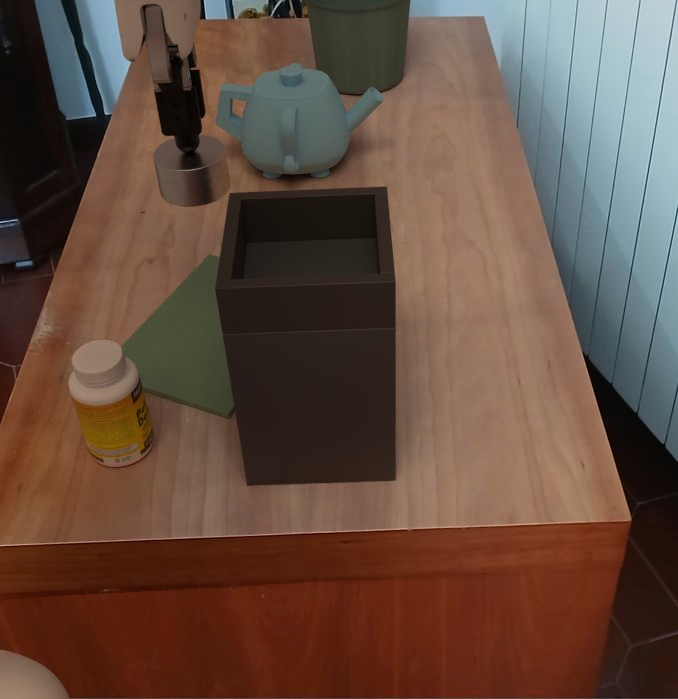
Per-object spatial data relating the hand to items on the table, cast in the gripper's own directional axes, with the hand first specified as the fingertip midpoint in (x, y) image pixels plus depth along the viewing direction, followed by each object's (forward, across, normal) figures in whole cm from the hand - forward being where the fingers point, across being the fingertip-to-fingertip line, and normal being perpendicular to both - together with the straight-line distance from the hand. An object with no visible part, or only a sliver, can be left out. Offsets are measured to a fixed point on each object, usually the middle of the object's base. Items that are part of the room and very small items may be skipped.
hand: (184, 124), depth 75 cm
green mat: (+22, 0, 0) cm, 22 cm away
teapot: (+22, -32, +8) cm, 39 cm away
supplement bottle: (+22, +15, -7) cm, 27 cm away
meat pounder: (+6, 0, 0) cm, 6 cm away
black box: (+22, +14, +10) cm, 28 cm away
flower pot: (+22, -55, +15) cm, 61 cm away
